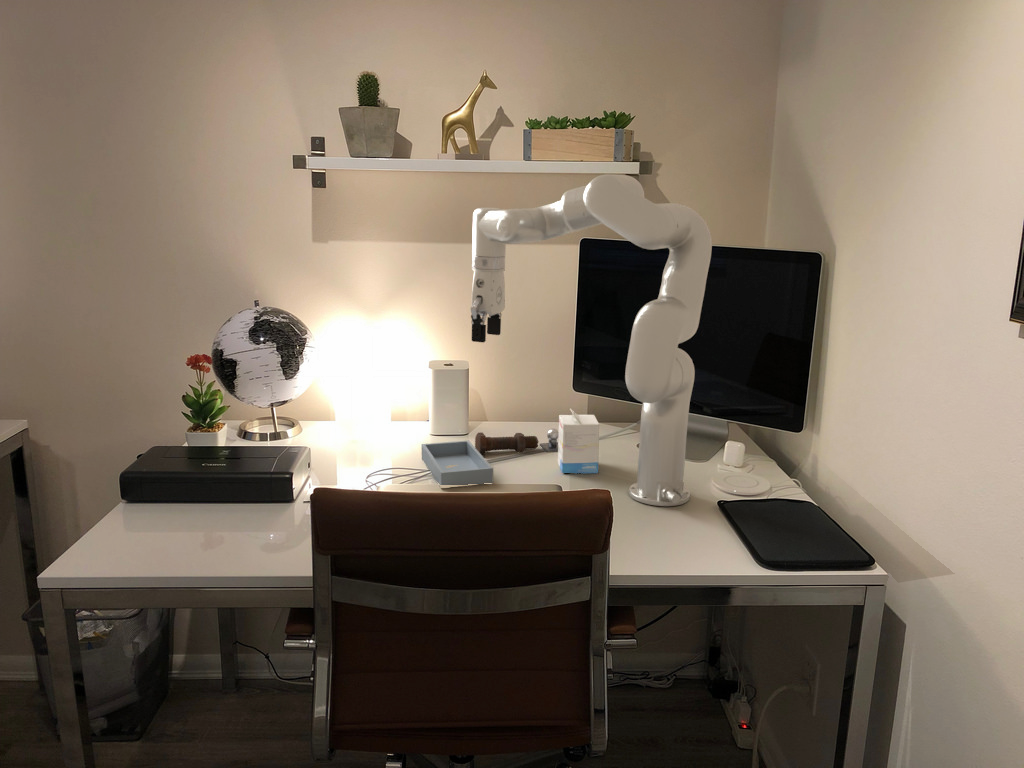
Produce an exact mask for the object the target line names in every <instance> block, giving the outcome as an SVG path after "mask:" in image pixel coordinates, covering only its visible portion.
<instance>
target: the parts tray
mask: <svg viewBox="0 0 1024 768" xmlns="http://www.w3.org/2000/svg"><path fill="white" fill-rule="evenodd" d="M421 460H422V462H423V461H424V462H423V464H426V465H425V466H426V467H428V468H429V469H428V468H427V469H428V471H429V470H430V471H431V472H430V471H429V472H430V474H431V473H432V474H431V475H432V477H433V478H435V479H434V480H435V481H437V482H438V483H439V484H440V485H468V484H484V483H494V468H493V466H491V464H490V463H489V462H488V460H486V458H484V455H483V456H482V455H481V454H480V453H479V452H478V450H477V449H476V448H475V445H474V444H472V442H471V441H470V440H458V441H457V440H456V441H447V442H446V441H444V442H443V441H442V442H431V443H422V444H421ZM449 465H458V466H455V467H451V468H446V466H449ZM437 482H436V483H437ZM438 483H437V484H438Z"/></svg>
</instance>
